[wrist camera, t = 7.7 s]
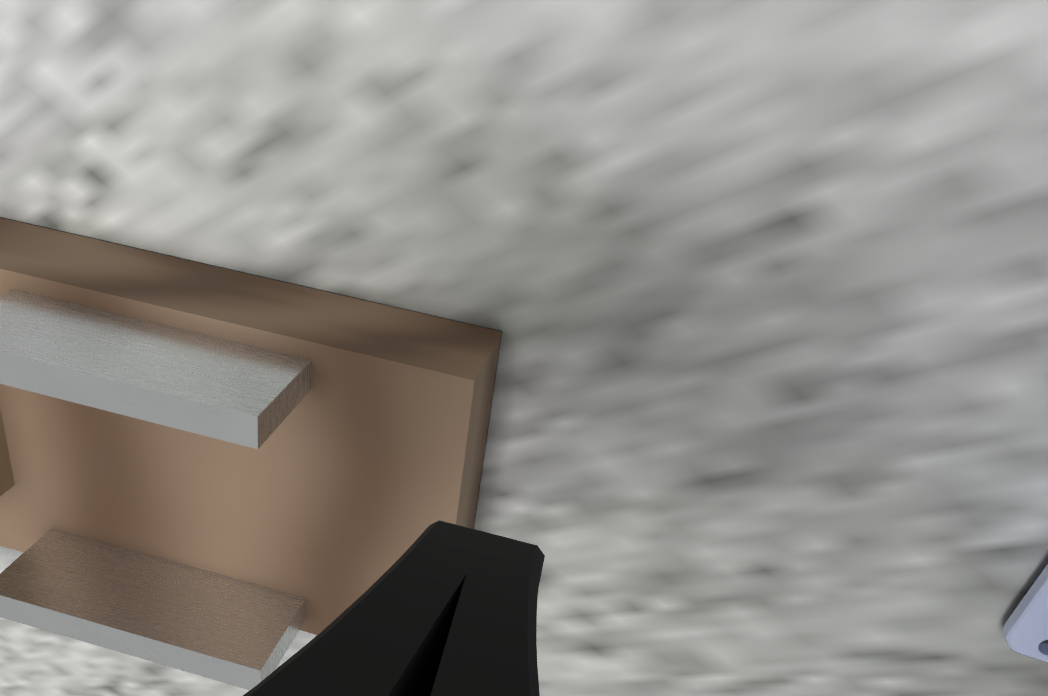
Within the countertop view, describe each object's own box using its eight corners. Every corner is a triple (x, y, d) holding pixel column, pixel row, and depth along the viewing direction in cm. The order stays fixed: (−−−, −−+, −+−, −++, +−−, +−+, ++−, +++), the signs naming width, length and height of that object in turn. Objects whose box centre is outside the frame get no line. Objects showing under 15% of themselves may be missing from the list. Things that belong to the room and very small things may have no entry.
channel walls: (311, 359, 19) (257, 417, 17) (305, 619, 23) (260, 693, 21) (13, 288, 20) (-75, 333, 18) (55, 549, 24) (-13, 613, 22)
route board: (502, 331, 21) (474, 380, 18) (463, 602, 25) (437, 668, 23) (-363, 134, 24) (-474, 157, 21) (-265, 405, 28) (-350, 446, 26)
